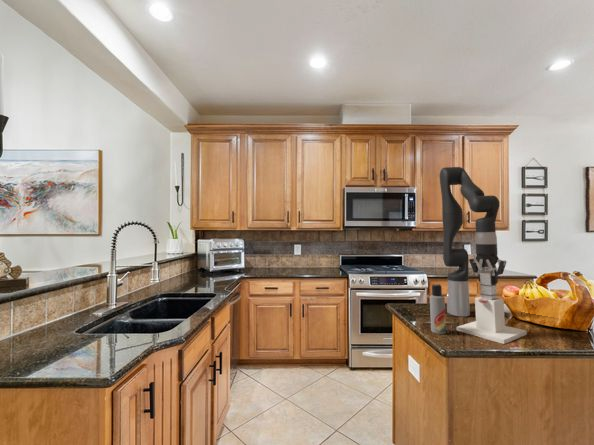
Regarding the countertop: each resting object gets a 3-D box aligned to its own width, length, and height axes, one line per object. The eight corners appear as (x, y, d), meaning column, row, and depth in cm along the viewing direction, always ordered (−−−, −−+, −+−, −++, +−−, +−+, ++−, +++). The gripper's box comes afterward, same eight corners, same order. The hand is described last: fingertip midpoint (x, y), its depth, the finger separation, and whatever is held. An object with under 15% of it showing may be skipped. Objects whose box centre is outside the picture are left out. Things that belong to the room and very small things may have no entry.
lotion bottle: (448, 334, 117) (445, 285, 118) (433, 334, 118) (431, 285, 119) (443, 330, 123) (441, 283, 123) (429, 329, 124) (427, 283, 125)
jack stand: (456, 330, 122) (455, 297, 122) (479, 322, 131) (478, 292, 131) (504, 344, 106) (502, 306, 107) (526, 334, 115) (524, 299, 116)
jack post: (481, 318, 119) (478, 270, 120) (487, 316, 122) (484, 269, 123) (493, 320, 115) (490, 271, 116) (499, 318, 118) (496, 270, 119)
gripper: (509, 242, 115) (512, 285, 115) (473, 242, 128) (475, 280, 127) (500, 243, 112) (502, 287, 111) (464, 243, 124) (465, 282, 124)
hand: (488, 283), depth 119 cm, fingers closed on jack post, 4 cm apart
